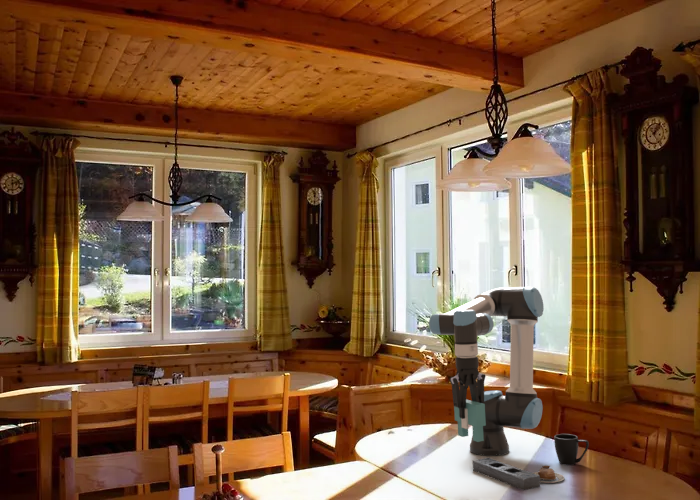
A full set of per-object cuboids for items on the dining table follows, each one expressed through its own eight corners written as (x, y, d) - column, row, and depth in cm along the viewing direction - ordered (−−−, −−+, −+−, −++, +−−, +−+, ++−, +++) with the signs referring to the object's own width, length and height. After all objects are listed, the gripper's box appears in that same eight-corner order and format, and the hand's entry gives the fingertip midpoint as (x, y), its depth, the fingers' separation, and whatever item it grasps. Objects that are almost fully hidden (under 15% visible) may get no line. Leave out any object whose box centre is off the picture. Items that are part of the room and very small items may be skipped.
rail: (472, 470, 231) (472, 460, 231) (488, 467, 234) (488, 457, 234) (523, 490, 207) (523, 479, 208) (540, 486, 211) (539, 475, 211)
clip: (455, 435, 220) (453, 399, 220) (463, 433, 221) (462, 398, 222) (477, 442, 209) (476, 405, 209) (486, 441, 211) (484, 403, 211)
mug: (585, 468, 228) (584, 441, 228) (552, 464, 235) (550, 437, 236) (592, 463, 234) (591, 436, 235) (560, 458, 242) (558, 432, 242)
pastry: (559, 487, 210) (559, 473, 211) (523, 482, 217) (522, 468, 217) (568, 477, 221) (567, 463, 221) (533, 473, 227) (532, 459, 227)
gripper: (453, 359, 209) (456, 433, 208) (493, 355, 217) (497, 425, 216) (439, 357, 216) (443, 428, 215) (479, 353, 223) (482, 421, 222)
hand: (470, 427), depth 215 cm, fingers closed on clip, 3 cm apart
